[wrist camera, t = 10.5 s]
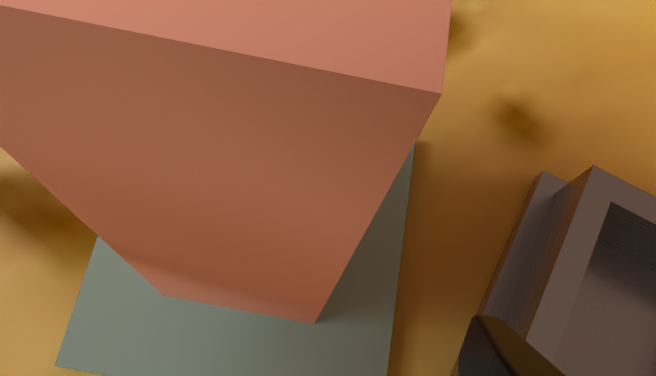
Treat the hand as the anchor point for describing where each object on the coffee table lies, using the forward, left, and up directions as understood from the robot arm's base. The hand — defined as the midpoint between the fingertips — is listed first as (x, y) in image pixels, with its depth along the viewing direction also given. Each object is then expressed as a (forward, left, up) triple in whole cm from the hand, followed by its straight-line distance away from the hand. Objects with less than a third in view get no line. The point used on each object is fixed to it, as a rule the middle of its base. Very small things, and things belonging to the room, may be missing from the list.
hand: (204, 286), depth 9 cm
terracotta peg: (+2, +2, -7) cm, 8 cm away
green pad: (+2, +2, -8) cm, 8 cm away
